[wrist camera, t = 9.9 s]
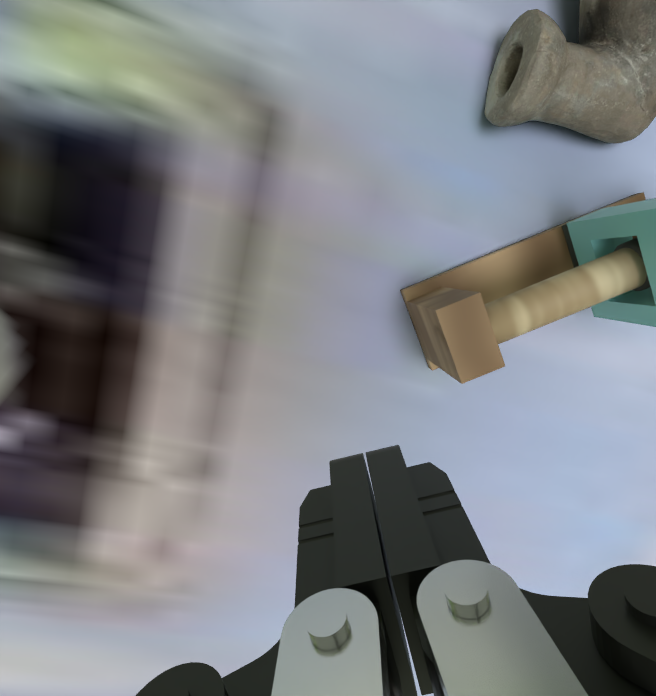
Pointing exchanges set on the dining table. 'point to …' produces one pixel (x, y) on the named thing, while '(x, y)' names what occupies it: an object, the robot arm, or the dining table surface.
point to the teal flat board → (601, 239)
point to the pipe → (579, 71)
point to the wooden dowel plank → (514, 296)
